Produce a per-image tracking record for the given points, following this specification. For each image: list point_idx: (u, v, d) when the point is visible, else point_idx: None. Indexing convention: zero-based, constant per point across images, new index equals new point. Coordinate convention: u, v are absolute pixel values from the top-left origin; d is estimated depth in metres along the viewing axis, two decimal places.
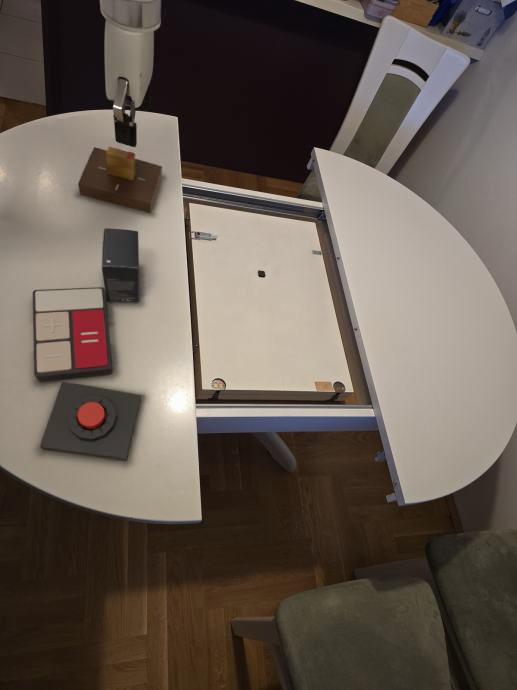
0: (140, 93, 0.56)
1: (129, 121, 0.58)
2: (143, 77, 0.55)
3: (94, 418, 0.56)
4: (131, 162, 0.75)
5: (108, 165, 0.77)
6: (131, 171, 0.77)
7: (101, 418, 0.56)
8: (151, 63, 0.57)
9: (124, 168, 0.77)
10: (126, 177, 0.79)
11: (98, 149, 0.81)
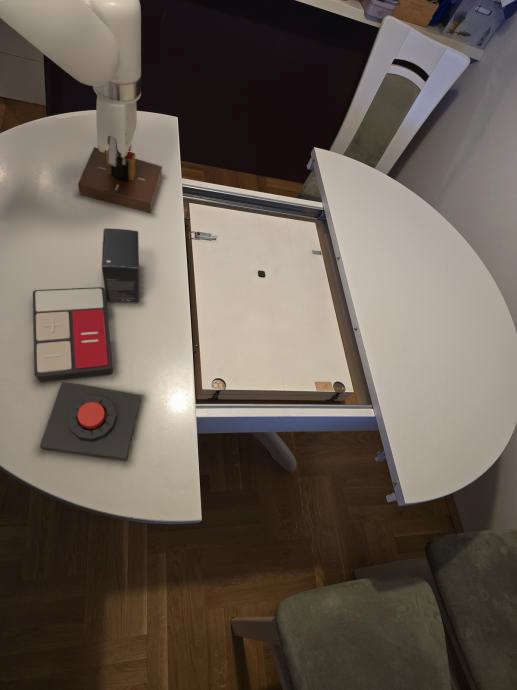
0: (126, 147, 0.69)
1: (122, 161, 0.74)
2: (128, 135, 0.68)
3: (94, 418, 0.56)
4: (131, 162, 0.75)
5: (108, 165, 0.77)
6: (131, 171, 0.77)
7: (101, 418, 0.56)
8: (134, 121, 0.71)
9: None
10: None
11: (98, 149, 0.81)
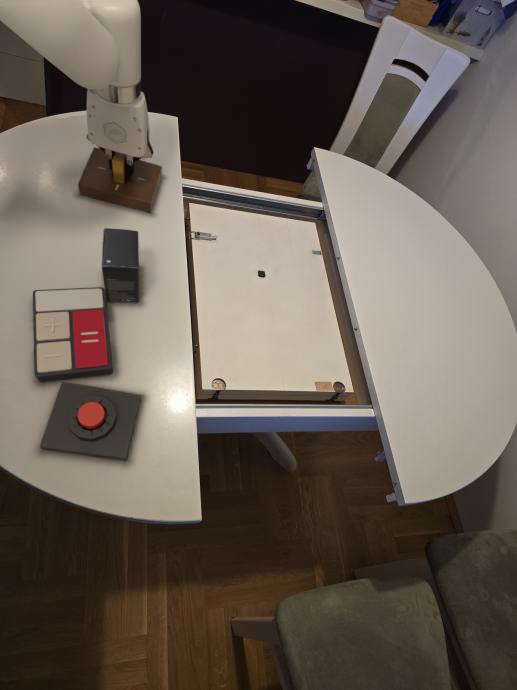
0: None
1: None
2: None
3: (94, 418, 0.56)
4: None
5: (123, 174, 0.77)
6: None
7: (101, 418, 0.56)
8: None
9: None
10: None
11: (98, 149, 0.81)
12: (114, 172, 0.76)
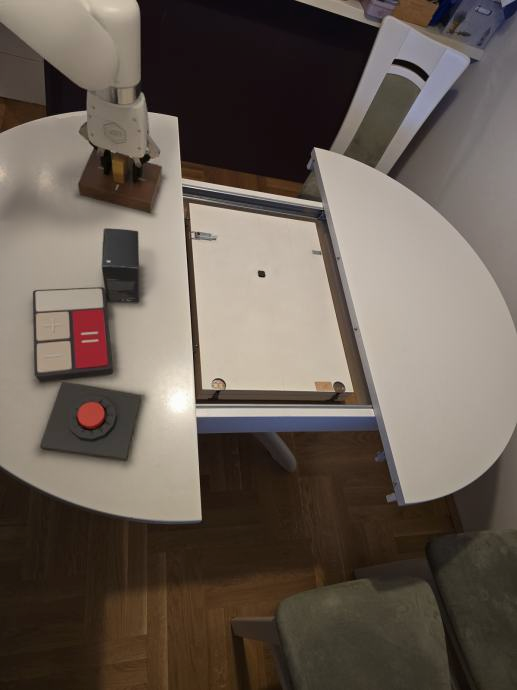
0: None
1: None
2: None
3: (94, 418, 0.56)
4: None
5: (123, 174, 0.77)
6: (129, 159, 0.79)
7: (101, 418, 0.56)
8: None
9: (127, 162, 0.78)
10: (128, 169, 0.80)
11: None
12: (114, 172, 0.76)
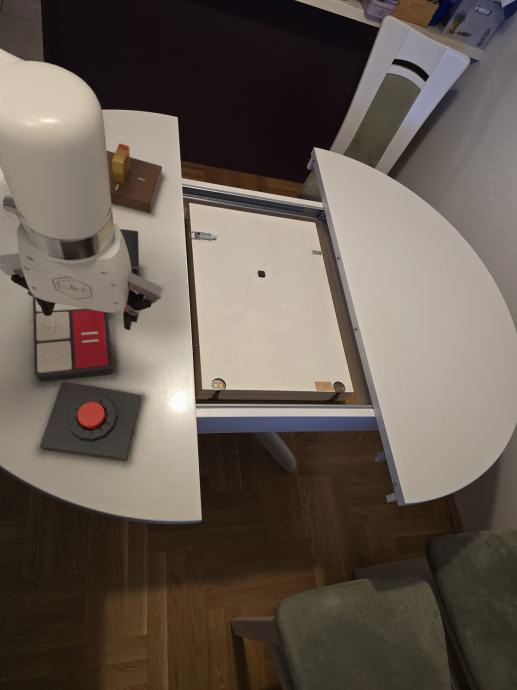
0: None
1: None
2: None
3: (94, 418, 0.56)
4: None
5: (123, 174, 0.77)
6: (129, 159, 0.79)
7: (101, 418, 0.56)
8: None
9: (127, 162, 0.78)
10: (128, 169, 0.80)
11: None
12: (114, 172, 0.76)
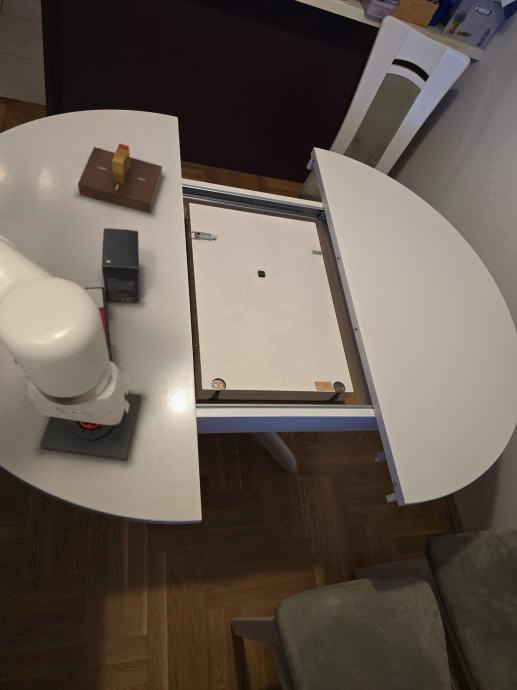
0: None
1: None
2: None
3: None
4: None
5: (123, 174, 0.77)
6: (129, 159, 0.79)
7: None
8: None
9: (127, 162, 0.78)
10: (128, 169, 0.80)
11: (98, 149, 0.81)
12: (114, 172, 0.76)
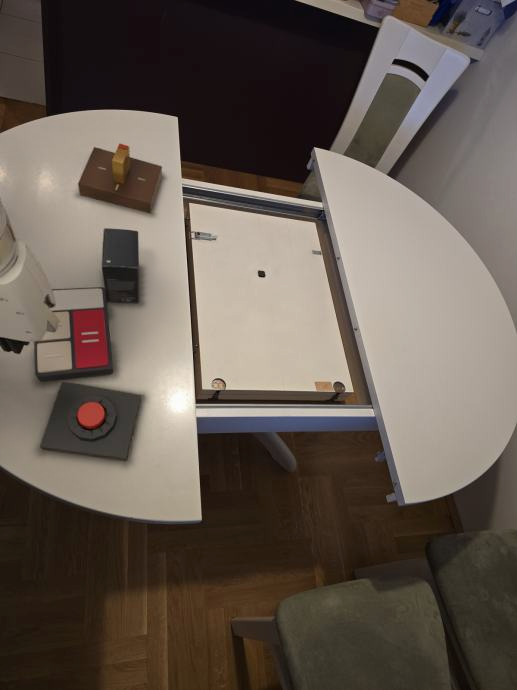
0: None
1: None
2: None
3: (94, 418, 0.56)
4: None
5: (123, 174, 0.77)
6: (129, 159, 0.79)
7: (101, 418, 0.56)
8: None
9: (127, 162, 0.78)
10: (128, 169, 0.80)
11: (98, 149, 0.81)
12: (114, 172, 0.76)
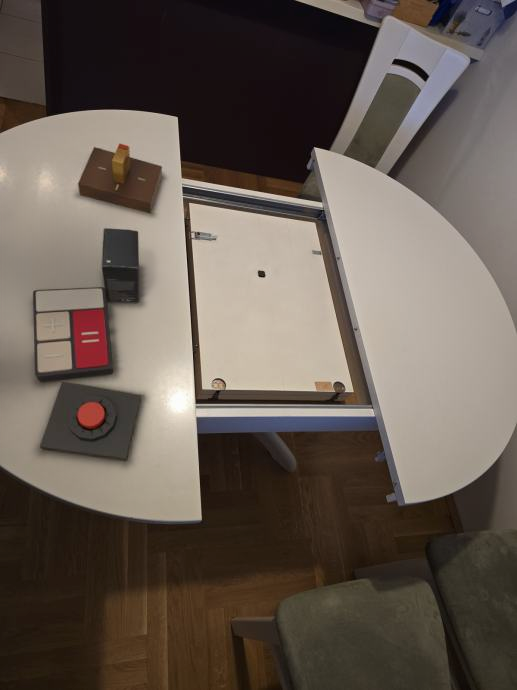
0: None
1: None
2: None
3: (94, 418, 0.56)
4: None
5: (123, 174, 0.77)
6: (129, 159, 0.79)
7: (101, 418, 0.56)
8: None
9: (127, 162, 0.78)
10: (128, 169, 0.80)
11: (98, 149, 0.81)
12: (114, 172, 0.76)
